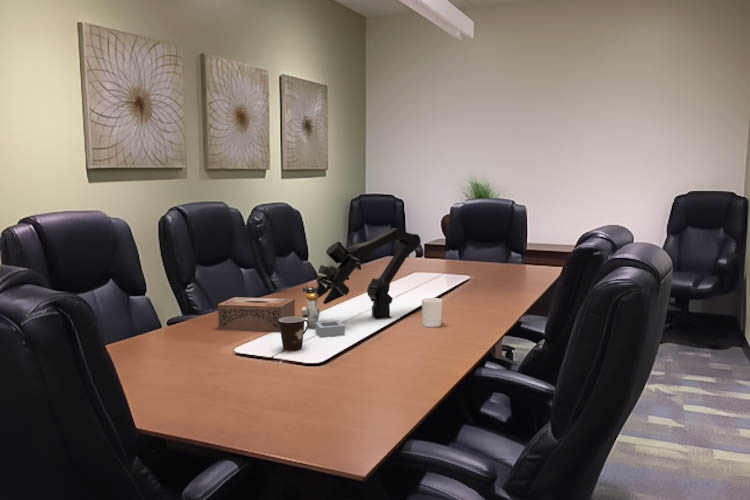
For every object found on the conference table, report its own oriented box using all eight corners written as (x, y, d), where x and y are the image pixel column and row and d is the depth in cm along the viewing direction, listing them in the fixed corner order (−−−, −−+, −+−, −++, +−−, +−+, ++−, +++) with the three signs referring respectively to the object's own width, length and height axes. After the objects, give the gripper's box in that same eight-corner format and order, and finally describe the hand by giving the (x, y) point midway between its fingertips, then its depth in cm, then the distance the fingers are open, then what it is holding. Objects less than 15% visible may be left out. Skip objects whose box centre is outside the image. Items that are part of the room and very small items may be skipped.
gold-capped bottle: (317, 325, 235) (316, 292, 234) (320, 328, 231) (319, 294, 229) (306, 326, 234) (305, 293, 232) (308, 329, 230) (307, 295, 228)
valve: (316, 318, 247) (315, 289, 246) (300, 318, 249) (300, 289, 247) (320, 315, 254) (320, 286, 252) (305, 314, 255) (305, 286, 254)
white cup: (444, 323, 235) (444, 298, 234) (438, 328, 228) (438, 302, 227) (425, 322, 238) (425, 297, 237) (418, 326, 231) (418, 301, 230)
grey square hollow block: (338, 329, 229) (338, 320, 228) (344, 335, 220) (344, 325, 220) (315, 331, 226) (315, 322, 226) (320, 337, 218) (320, 327, 217)
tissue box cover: (295, 323, 240) (294, 299, 239) (281, 332, 226) (280, 306, 225) (235, 321, 246) (234, 297, 245) (218, 330, 232) (217, 304, 231)
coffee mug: (284, 353, 198) (283, 323, 197) (276, 347, 206) (275, 318, 204) (317, 348, 203) (316, 319, 202) (308, 342, 211) (307, 314, 210)
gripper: (320, 255, 241) (295, 284, 237) (341, 260, 225) (315, 292, 221) (338, 273, 246) (313, 302, 242) (360, 279, 230) (334, 310, 226)
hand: (318, 301), depth 233 cm, fingers open, 9 cm apart
